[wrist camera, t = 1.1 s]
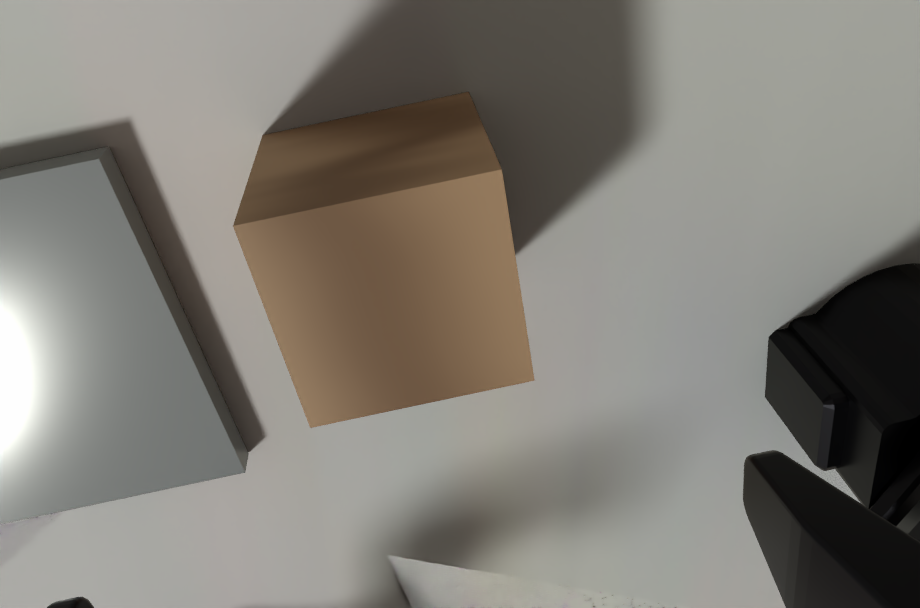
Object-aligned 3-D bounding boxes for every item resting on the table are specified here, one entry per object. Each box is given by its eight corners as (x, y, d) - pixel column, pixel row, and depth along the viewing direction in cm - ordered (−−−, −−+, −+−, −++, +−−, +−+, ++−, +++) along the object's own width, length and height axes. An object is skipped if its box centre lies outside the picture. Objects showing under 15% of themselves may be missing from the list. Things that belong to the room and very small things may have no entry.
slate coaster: (108, 146, 17) (99, 159, 17) (248, 453, 23) (245, 472, 22) (-312, 235, 17) (-339, 251, 17) (-73, 521, 23) (-86, 542, 22)
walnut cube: (468, 90, 18) (501, 169, 14) (498, 269, 20) (534, 380, 16) (262, 133, 18) (233, 226, 14) (320, 306, 20) (310, 428, 16)
